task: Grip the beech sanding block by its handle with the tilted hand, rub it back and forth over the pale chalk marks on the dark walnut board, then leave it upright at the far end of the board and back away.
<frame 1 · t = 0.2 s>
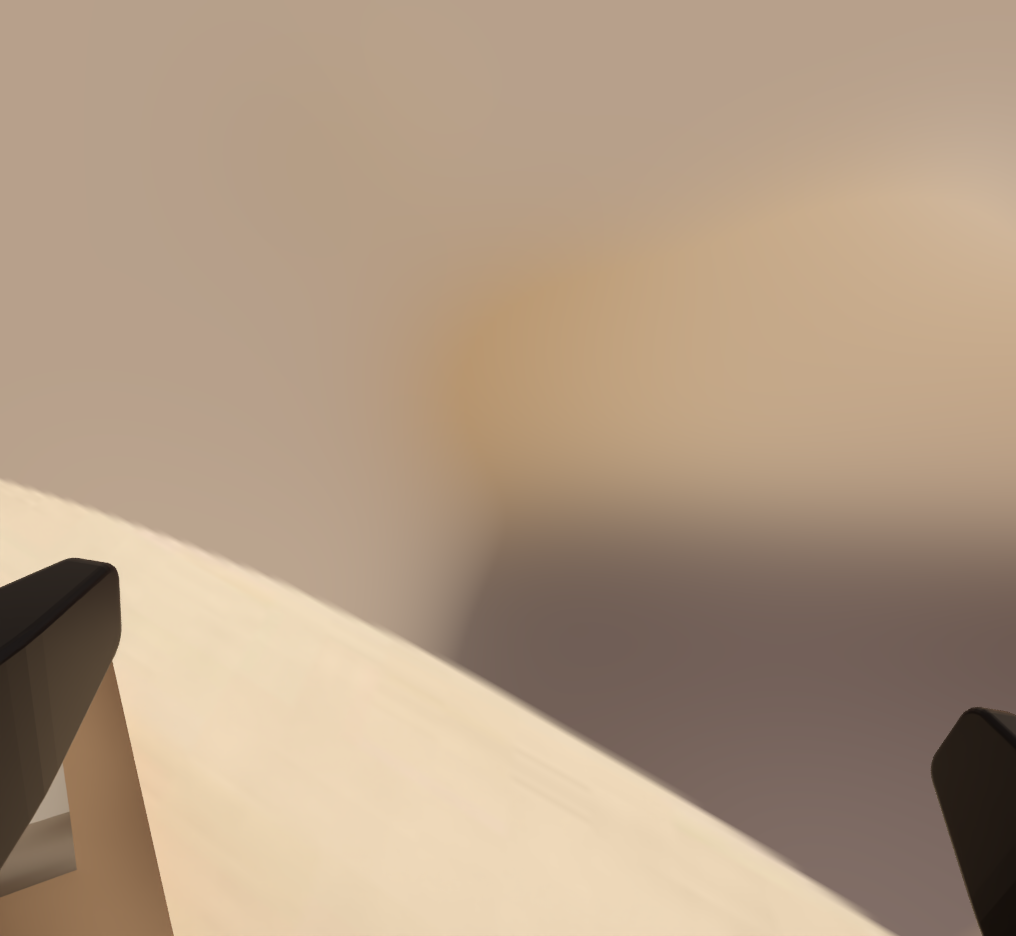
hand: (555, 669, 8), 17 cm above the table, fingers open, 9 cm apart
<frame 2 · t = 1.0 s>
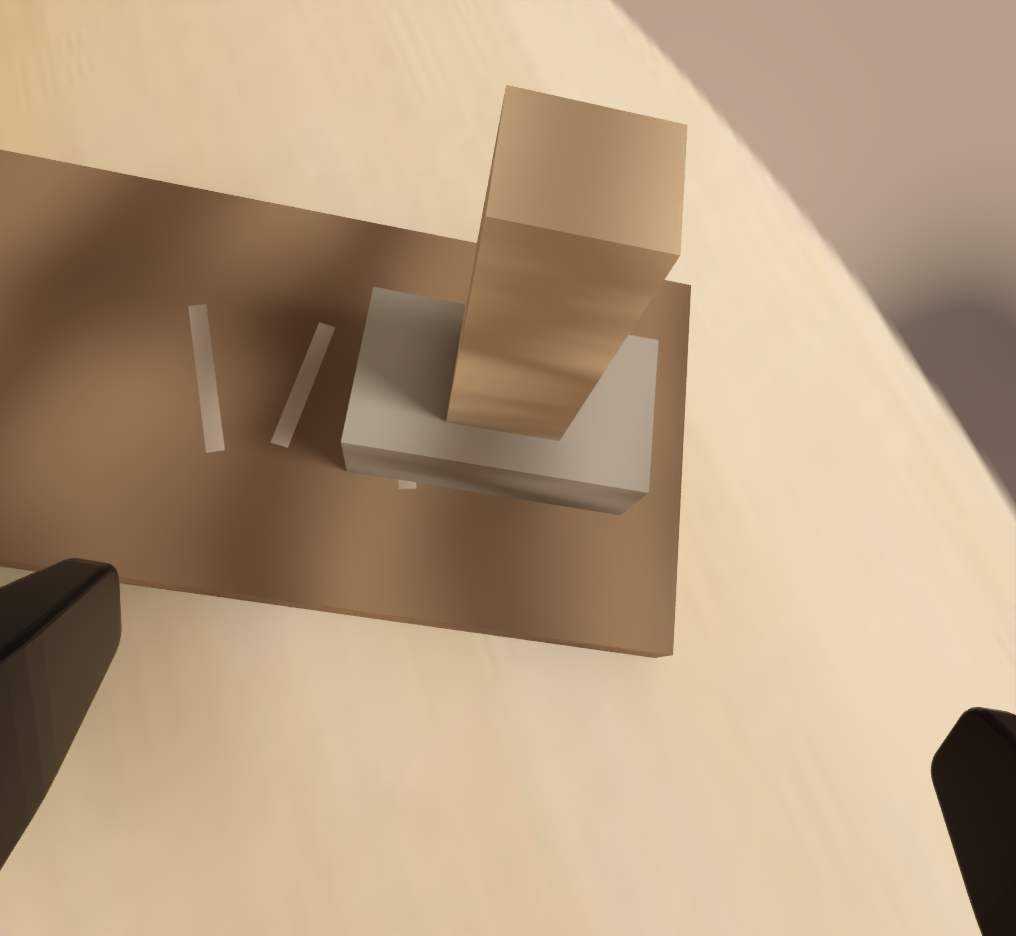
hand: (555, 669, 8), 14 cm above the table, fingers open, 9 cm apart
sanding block: (496, 421, 22), point 2 cm above the table, touching walnut board
walnut board: (324, 411, 23), on the table
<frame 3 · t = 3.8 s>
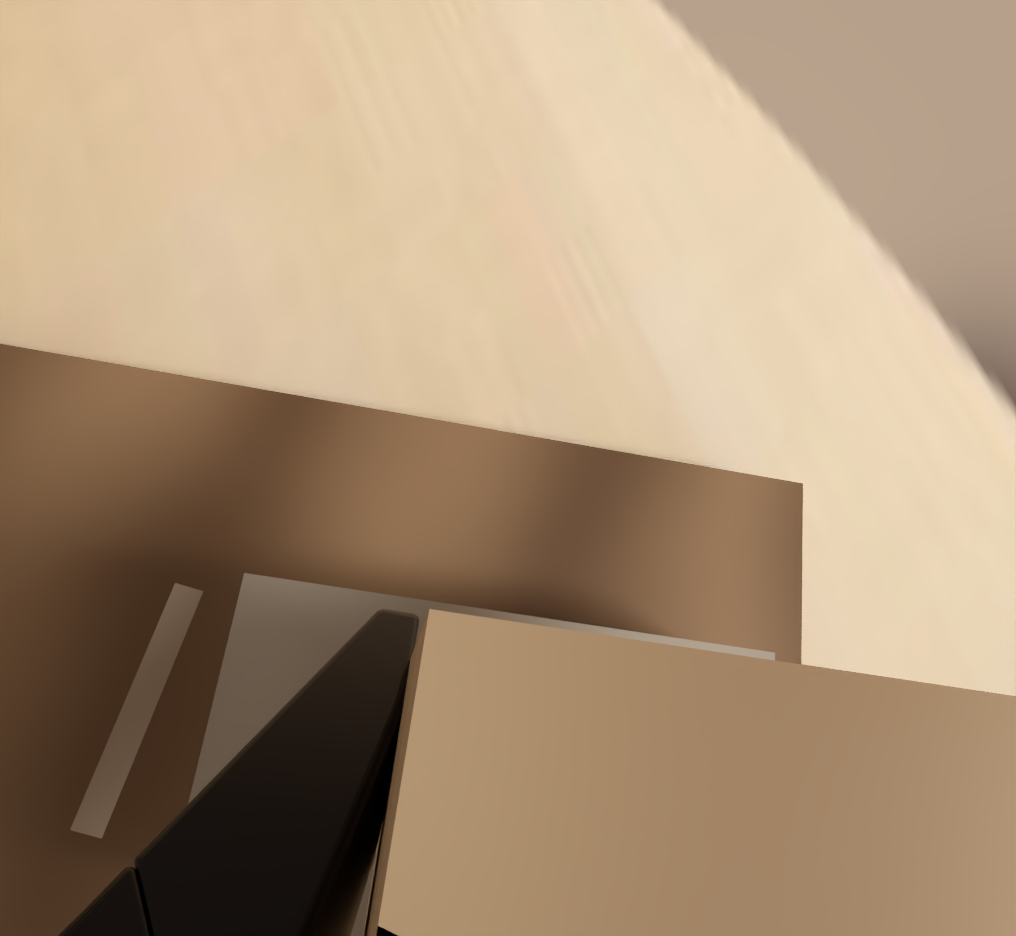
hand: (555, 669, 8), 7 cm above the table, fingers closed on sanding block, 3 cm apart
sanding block: (479, 760, 12), point 2 cm above the table, touching gripper, walnut board
walnut board: (192, 717, 13), on the table
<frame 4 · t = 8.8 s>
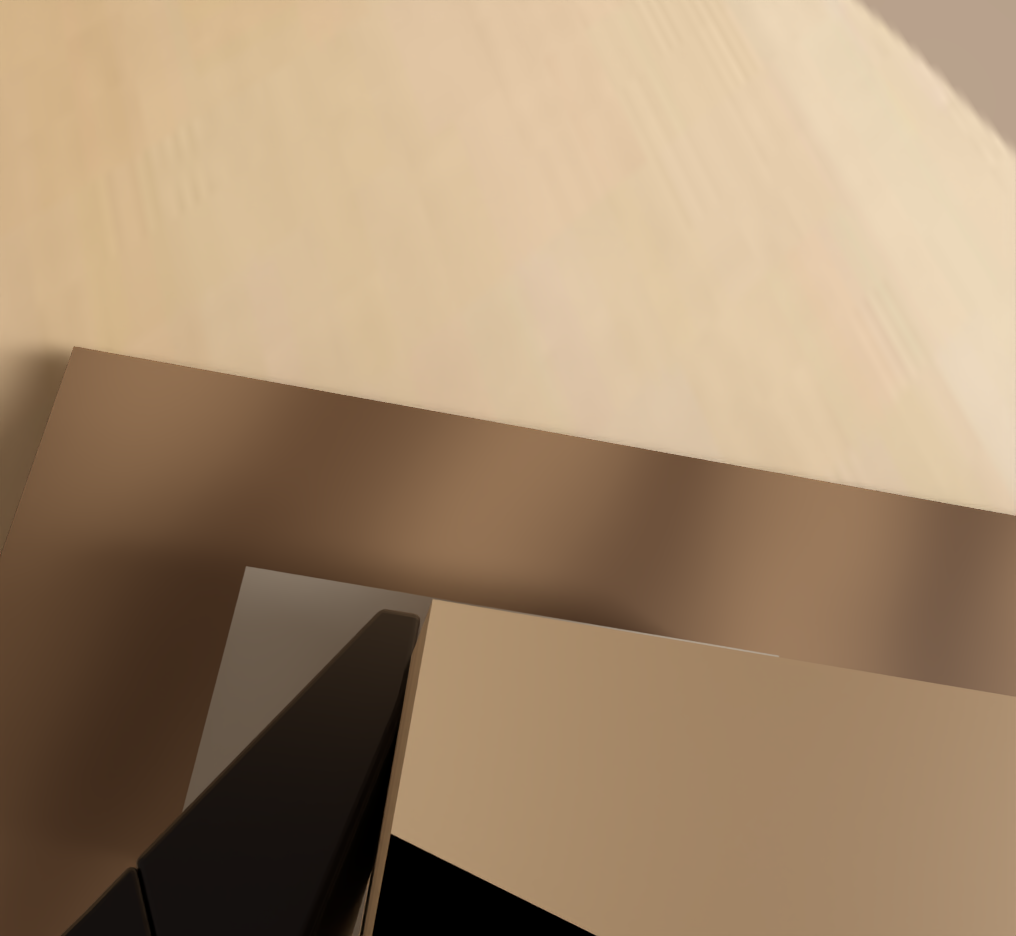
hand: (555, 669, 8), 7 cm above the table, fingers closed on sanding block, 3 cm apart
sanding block: (479, 758, 12), point 2 cm above the table, touching gripper
walnut board: (597, 763, 14), on the table
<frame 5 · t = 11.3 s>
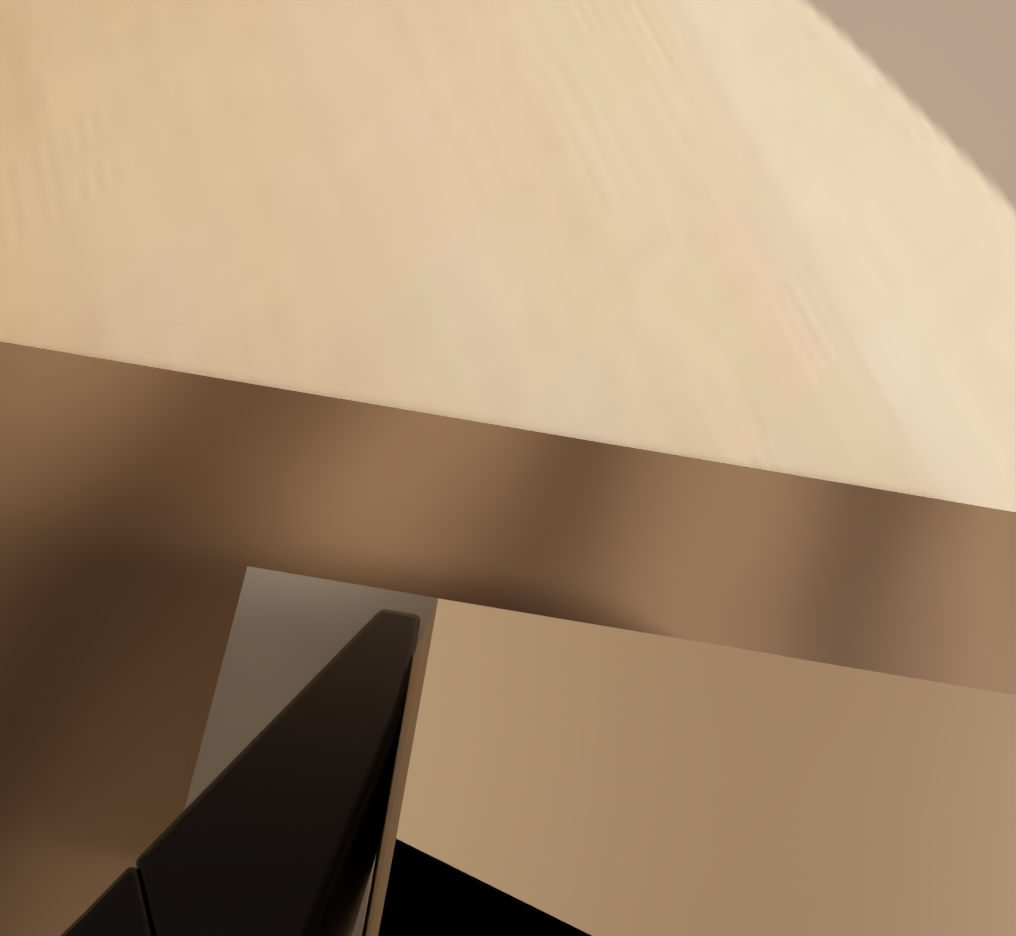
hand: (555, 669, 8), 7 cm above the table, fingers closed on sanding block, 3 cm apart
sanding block: (480, 758, 12), point 2 cm above the table, touching gripper
walnut board: (500, 751, 14), on the table
when the fingers open (7 cm above the table, at t = 13.6 s): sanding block stays where it is, resting on walnut board.
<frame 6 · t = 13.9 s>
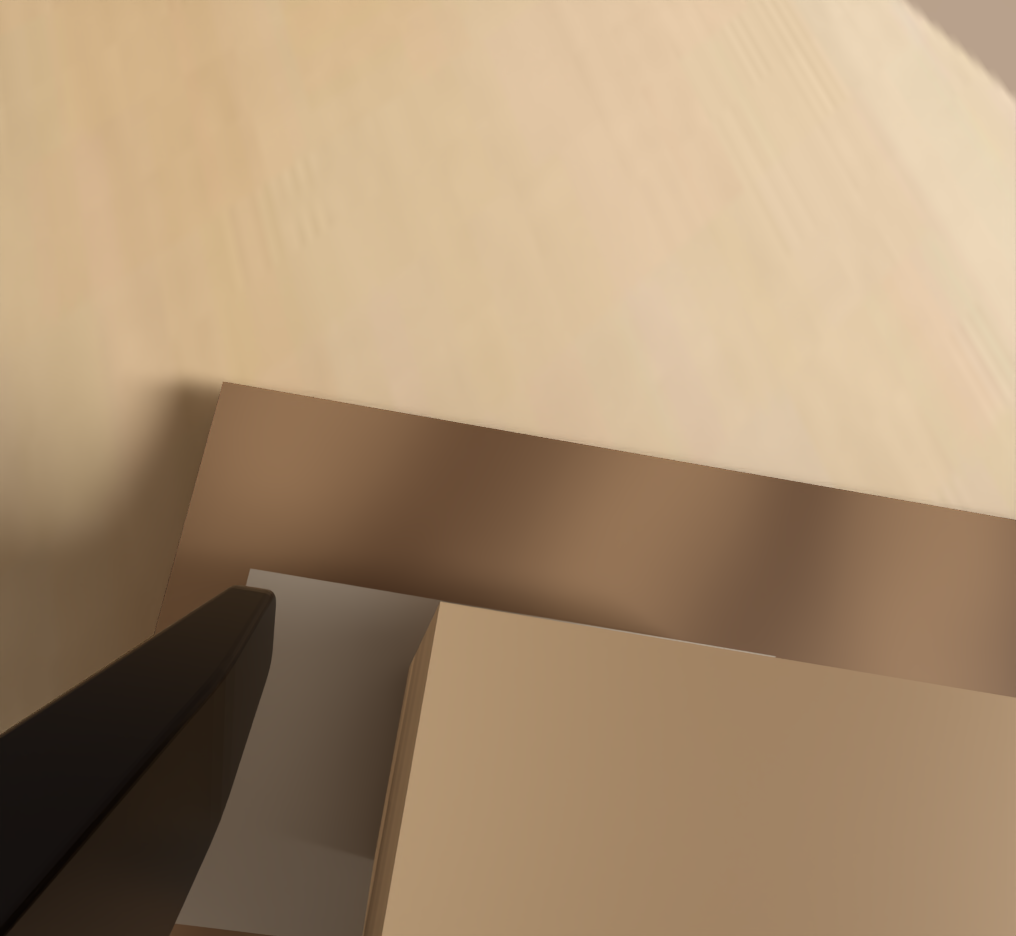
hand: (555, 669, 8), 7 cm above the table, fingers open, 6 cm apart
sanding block: (480, 758, 13), point 2 cm above the table, touching walnut board
walnut board: (729, 784, 14), on the table
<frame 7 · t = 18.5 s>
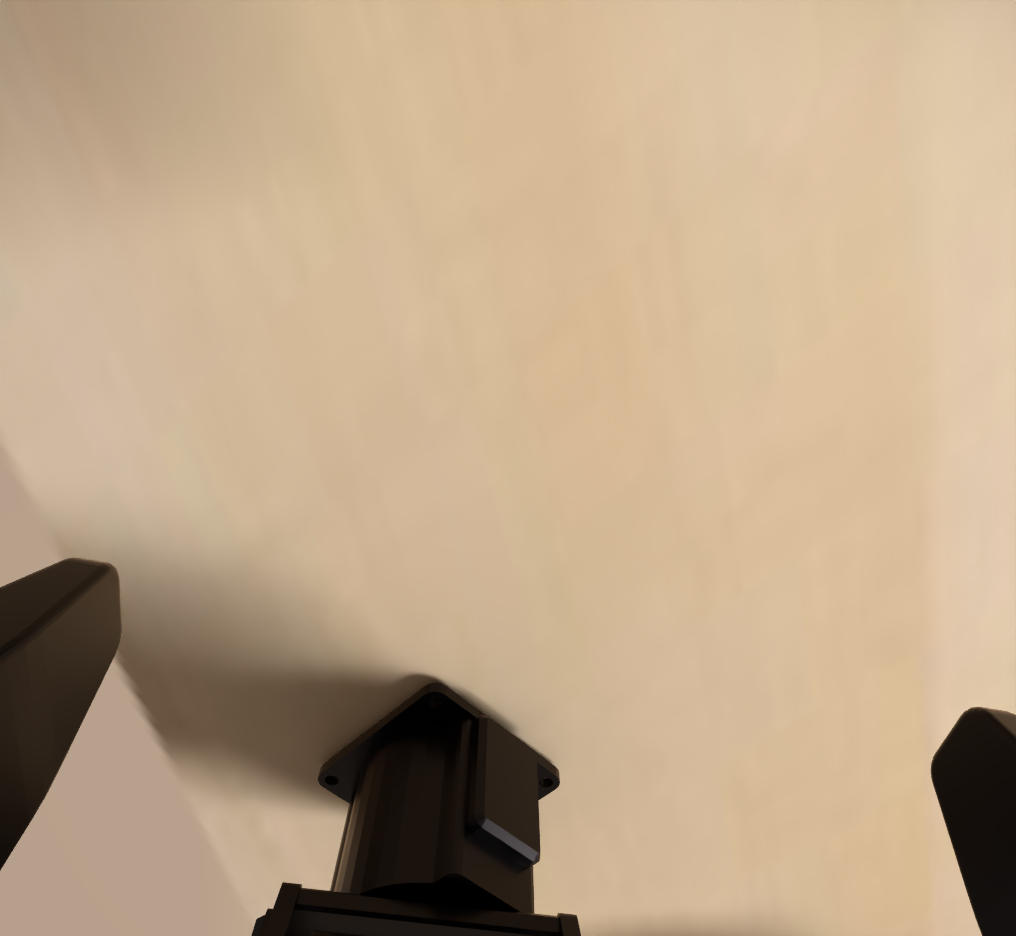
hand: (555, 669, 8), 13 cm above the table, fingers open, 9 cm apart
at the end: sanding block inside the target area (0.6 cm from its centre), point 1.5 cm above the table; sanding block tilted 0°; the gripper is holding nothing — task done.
